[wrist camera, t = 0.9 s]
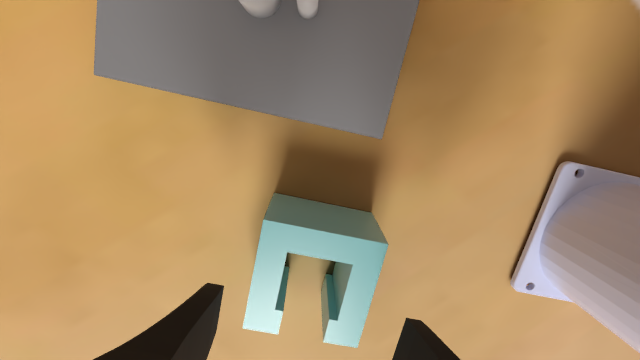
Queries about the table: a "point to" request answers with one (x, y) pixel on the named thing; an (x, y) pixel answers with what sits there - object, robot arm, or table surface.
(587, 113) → the table surface
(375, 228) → the teal slotted block
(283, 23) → the post board
